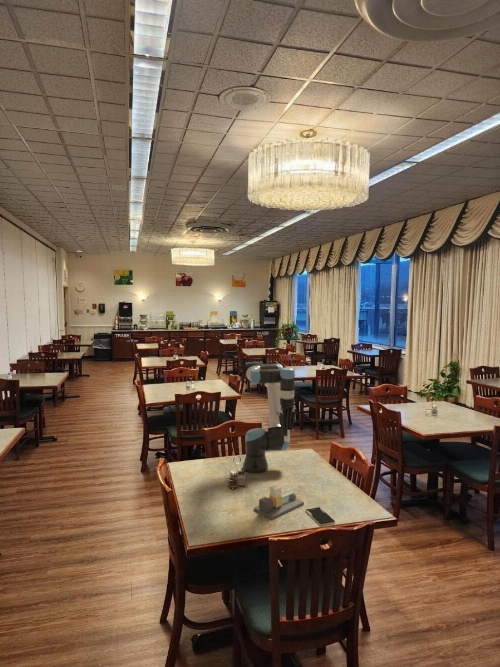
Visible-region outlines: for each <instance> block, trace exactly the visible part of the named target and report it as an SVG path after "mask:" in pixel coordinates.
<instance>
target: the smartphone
mask: <svg viewBox="0 0 500 667" xmlns="http://www.w3.org/2000/svg"><path fill="white" fill-rule="evenodd" d="M305 512H306V514H307V515H309V517H310V518H311V519H312V520H313V521H314V522H316V524H318V526H320V527H325V526H328V525H332V524H333V525H334V524H336V521H335V519H333V518H332V517H331V516H330V515H329V514H328V513H327V512H326V511H325V510H323V508H321V506H315V507H308V508H305Z"/></svg>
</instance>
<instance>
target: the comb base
mask: <svg viewBox="0 0 500 667" xmlns="http://www.w3.org/2000/svg"><path fill="white" fill-rule="evenodd" d="M281 496H282V506H279V507H277V508H275V499H273V498H271V497H266V496H264V497H262V498H259V499H258V505H257V506H255V507H253V510H254V511H255V512H257V513H259V514H260V515H262V516H265V517H267V518H269V519H270V520H274V519H276V518H278V517H280V516H282V515H285V514H286V513H289V512H290V511H293V510H295V509H297V508H299V507H301V506H303V505H304V504H305V502H304V501H303V500H301V499H298V498H297V494H296V492H295V490H292V491H290V492H288V493H285V494H283V495H282V494H281Z"/></svg>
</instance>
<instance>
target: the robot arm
mask: <svg viewBox="0 0 500 667" xmlns="http://www.w3.org/2000/svg"><path fill="white" fill-rule="evenodd" d="M245 375H246V378H247V379H248V381H250V383H251V384H255V385H258V384H264V386H265V387H266V389H267V402H268V403H267V406H268V417H269V426H268V427H267V430H266V429H265V428H260V427H257V428H253V429H252V428H251V429H249V430H248V431H246V433H245V440H244V441H245V457H244V462H243V464H242V469H243V471H244V472H247V473H252V474H259V473H264V472H266V471H268V469H269V463H268V460H267V457H266V452H275V451H280V452H281V451H287V450H288V449H289V447H290V442H291V430H293V427H294V425H295V418H296V413H297V410H298V409H297V408H295V407H294V406H295V398H294V397H295V376H296V374H295V369H294V368H292V367H284V366H283V365H282V364H280V363H261V364H254V365H250V366H249V367H248V368H247V370H246V372H245Z"/></svg>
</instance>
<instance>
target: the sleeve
mask: <svg viewBox="0 0 500 667" xmlns="http://www.w3.org/2000/svg"><path fill="white" fill-rule="evenodd" d="M268 496H269V497H271V498H273V499H275V508H277V507H279V506H282V486H279V485H277V484H275V485H272V486H270V487H269V495H268ZM269 497H268V498H269Z"/></svg>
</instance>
